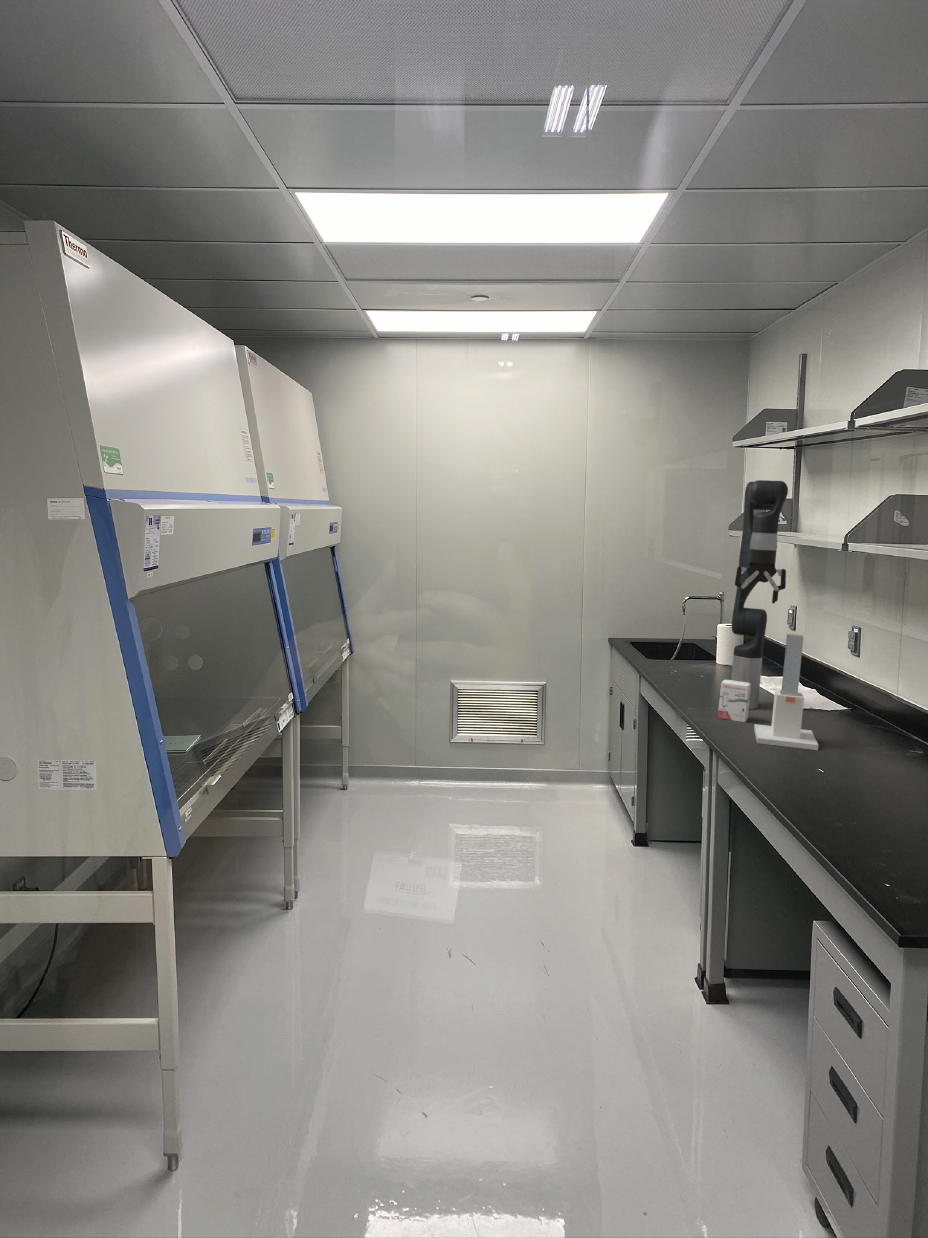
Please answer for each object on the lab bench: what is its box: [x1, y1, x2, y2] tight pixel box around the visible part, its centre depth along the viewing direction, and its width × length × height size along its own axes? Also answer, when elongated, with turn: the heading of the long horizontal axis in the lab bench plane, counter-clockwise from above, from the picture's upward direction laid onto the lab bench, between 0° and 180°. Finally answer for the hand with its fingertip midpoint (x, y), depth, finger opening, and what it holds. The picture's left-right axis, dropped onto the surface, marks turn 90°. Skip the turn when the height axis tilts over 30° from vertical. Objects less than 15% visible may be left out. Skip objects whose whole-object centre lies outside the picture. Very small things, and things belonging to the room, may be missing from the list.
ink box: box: [717, 679, 751, 723], centre depth 256 cm, size 9×5×12 cm, turn 62°
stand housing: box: [753, 689, 819, 751], centre depth 234 cm, size 16×16×14 cm
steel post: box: [780, 633, 804, 696], centre depth 233 cm, size 4×4×22 cm
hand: (758, 602), depth 244 cm, fingers open, 8 cm apart
